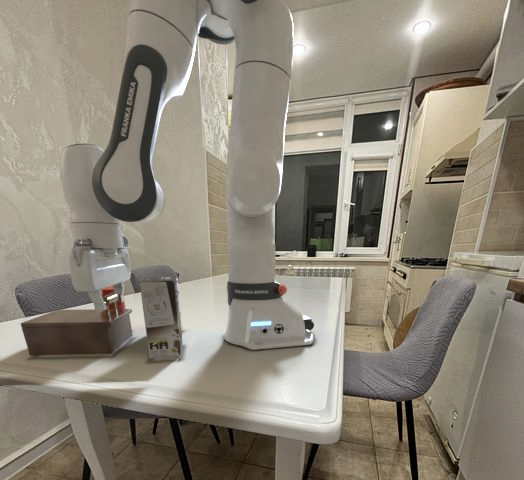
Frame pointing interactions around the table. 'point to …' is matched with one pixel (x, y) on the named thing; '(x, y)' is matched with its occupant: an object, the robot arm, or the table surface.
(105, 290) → the can
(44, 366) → the table surface
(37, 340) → the chest
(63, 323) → the chest lid
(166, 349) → the coffee box
